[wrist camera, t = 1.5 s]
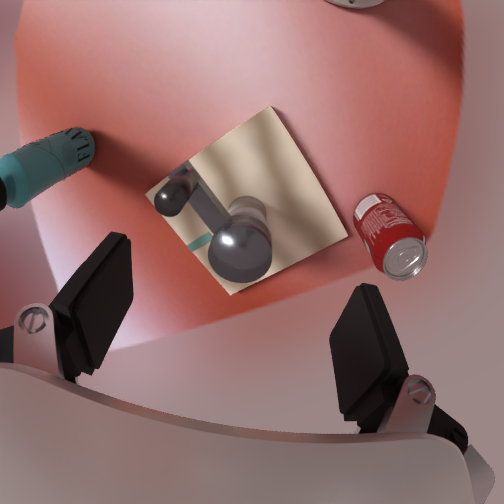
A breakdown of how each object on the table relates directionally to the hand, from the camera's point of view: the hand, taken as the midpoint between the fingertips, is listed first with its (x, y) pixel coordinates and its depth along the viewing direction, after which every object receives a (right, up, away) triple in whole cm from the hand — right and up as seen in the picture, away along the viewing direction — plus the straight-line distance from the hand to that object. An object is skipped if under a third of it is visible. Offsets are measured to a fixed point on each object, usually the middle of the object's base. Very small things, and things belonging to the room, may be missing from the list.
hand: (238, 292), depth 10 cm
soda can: (+18, +7, +28) cm, 34 cm away
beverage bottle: (-24, +17, +24) cm, 38 cm away
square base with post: (0, +7, +29) cm, 29 cm away
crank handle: (-3, +5, +20) cm, 20 cm away
